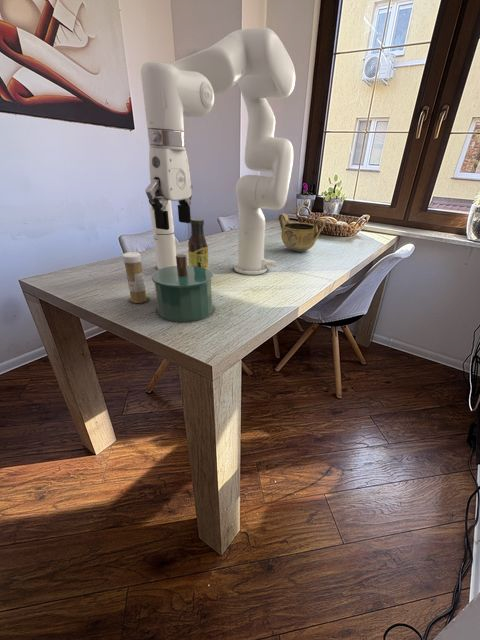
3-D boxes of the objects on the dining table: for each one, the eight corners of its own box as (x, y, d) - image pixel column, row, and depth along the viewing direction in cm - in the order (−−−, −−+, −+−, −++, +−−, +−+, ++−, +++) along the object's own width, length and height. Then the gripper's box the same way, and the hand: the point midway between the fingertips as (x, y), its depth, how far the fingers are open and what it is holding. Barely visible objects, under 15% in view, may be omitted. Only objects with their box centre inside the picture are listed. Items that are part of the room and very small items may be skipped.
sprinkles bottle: (128, 300, 90) (118, 253, 82) (142, 296, 93) (134, 250, 85) (136, 305, 87) (127, 257, 80) (150, 300, 90) (143, 254, 83)
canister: (213, 299, 93) (212, 268, 88) (210, 322, 81) (209, 288, 76) (163, 298, 92) (159, 267, 87) (153, 322, 80) (148, 287, 74)
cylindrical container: (172, 271, 112) (164, 195, 98) (154, 269, 113) (143, 193, 99) (180, 265, 118) (174, 192, 104) (163, 263, 119) (154, 191, 105)
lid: (214, 270, 89) (213, 248, 86) (211, 291, 76) (210, 266, 73) (158, 268, 87) (155, 246, 84) (145, 289, 74) (141, 264, 71)
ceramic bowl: (326, 251, 147) (332, 217, 139) (311, 258, 135) (317, 222, 127) (285, 242, 157) (288, 210, 149) (268, 249, 144) (270, 214, 136)
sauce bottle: (200, 286, 101) (196, 222, 91) (186, 282, 104) (180, 219, 93) (213, 281, 106) (210, 219, 95) (199, 277, 109) (195, 216, 98)
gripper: (158, 139, 58) (167, 234, 67) (202, 144, 72) (204, 222, 81) (124, 137, 60) (138, 229, 69) (173, 142, 74) (179, 218, 83)
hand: (174, 225), depth 75 cm, fingers open, 9 cm apart
